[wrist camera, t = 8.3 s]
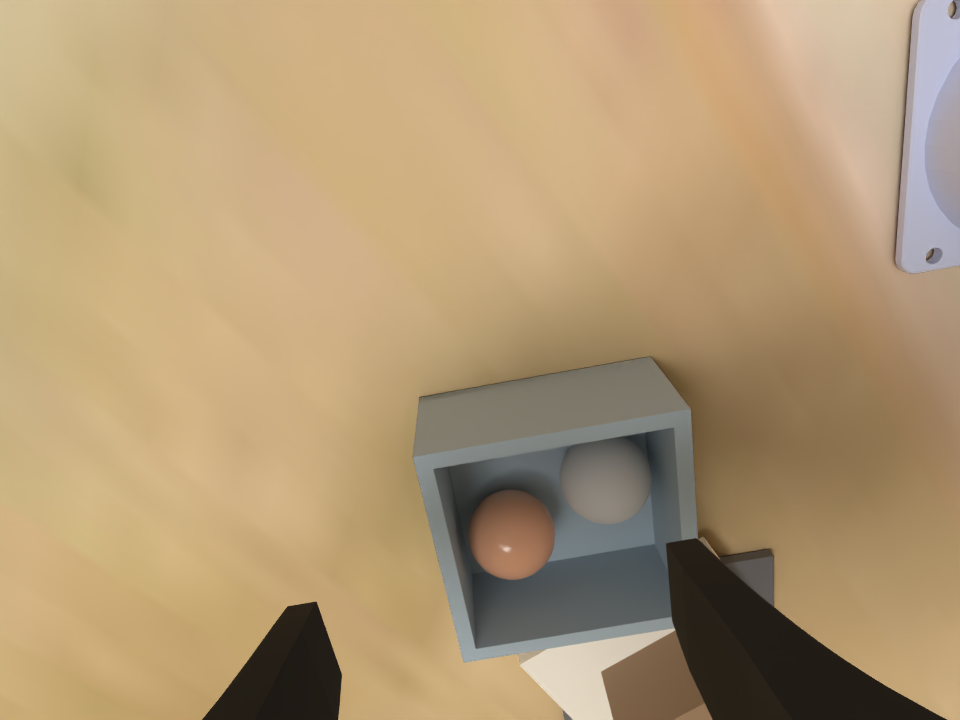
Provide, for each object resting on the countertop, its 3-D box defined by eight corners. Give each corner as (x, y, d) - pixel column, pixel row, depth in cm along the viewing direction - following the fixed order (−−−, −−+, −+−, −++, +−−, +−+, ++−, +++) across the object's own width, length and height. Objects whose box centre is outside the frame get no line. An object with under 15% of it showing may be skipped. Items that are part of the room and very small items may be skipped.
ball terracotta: (543, 466, 23) (555, 516, 20) (554, 534, 24) (567, 591, 21) (460, 480, 23) (461, 532, 20) (474, 548, 24) (477, 606, 21)
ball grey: (634, 409, 22) (660, 454, 19) (641, 483, 23) (666, 535, 21) (548, 424, 22) (561, 471, 20) (559, 496, 23) (573, 550, 21)
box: (650, 356, 22) (690, 408, 18) (665, 545, 25) (702, 623, 21) (419, 397, 22) (412, 457, 18) (462, 579, 25) (463, 662, 21)
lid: (703, 536, 24) (750, 619, 20) (801, 669, 27) (859, 764, 23) (517, 644, 26) (528, 740, 22) (627, 759, 29) (655, 863, 25)
